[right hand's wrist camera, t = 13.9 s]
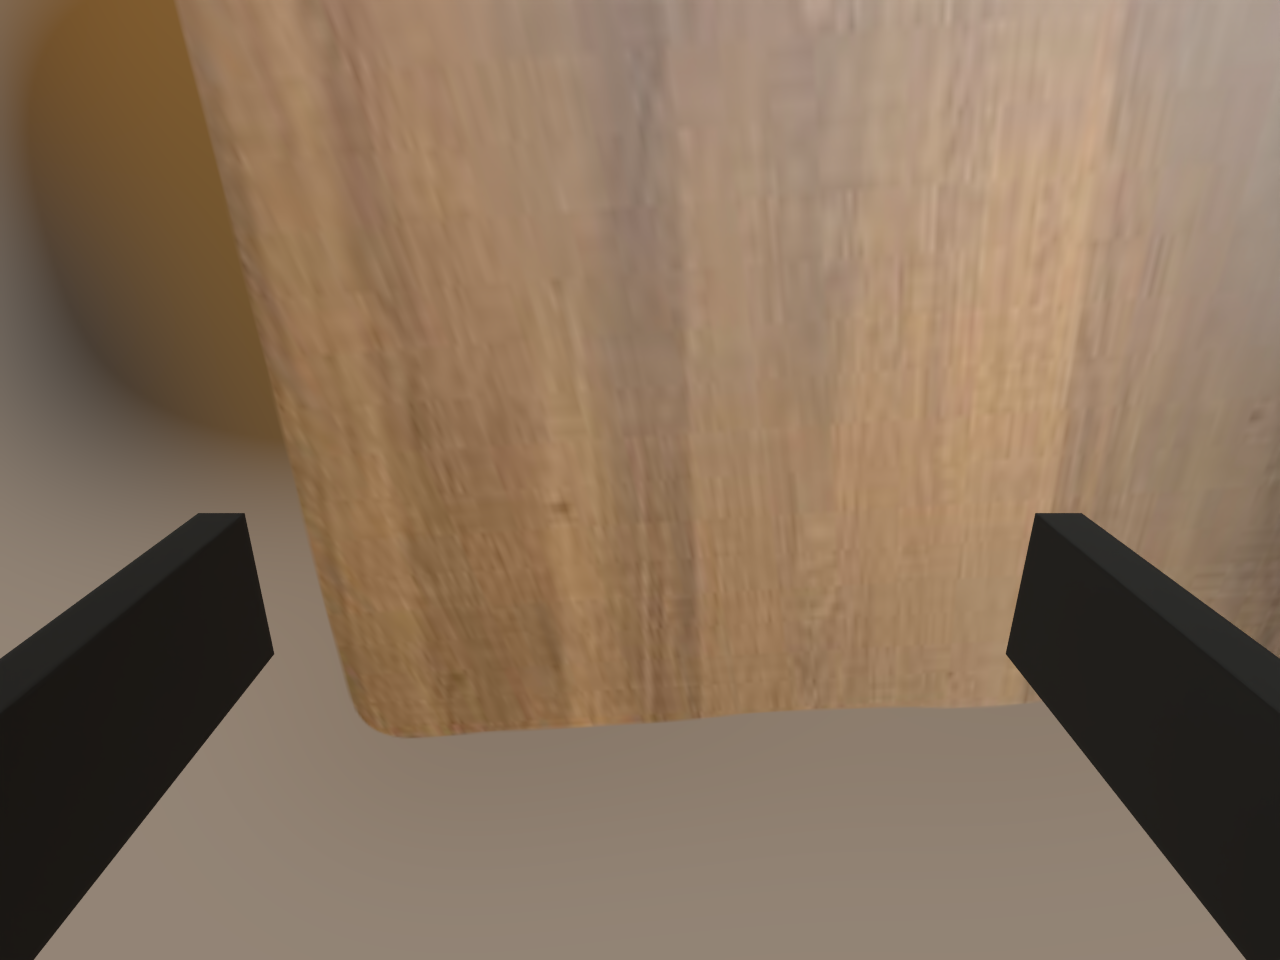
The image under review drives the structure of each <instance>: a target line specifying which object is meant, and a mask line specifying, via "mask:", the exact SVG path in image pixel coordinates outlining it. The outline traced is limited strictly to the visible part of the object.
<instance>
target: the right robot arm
mask: <svg viewBox="0 0 1280 960" xmlns="http://www.w3.org/2000/svg"><path fill="white" fill-rule="evenodd" d="M273 655H274V651H273V646H272V641H271V637H270V632H269V627H268V622H267V618H266V613H265V608H264V603H263V599H262V594H261V589H260V584H259V580H258V575H257V570H256V565H255V561H254V556H253V551H252V546H251V542H250V537H249V532H248V528H247V523H246V518H245V514H244V513H198V514H197V515H195V516H194V517H193V518H191V519H190V520H189V521H187V522H186V523H184V524H183V525H182V526H180V527H179V528H178V529H176V530H175V531H174V532H172V533H171V534H169V535H168V536H167V537H165V538H164V539H163V540H161V541H160V542H159V543H157V544H156V545H155V546H153V547H152V548H151V549H149V550H148V551H146V552H145V553H144V554H142V555H141V556H140V557H138V558H137V559H135V560H134V561H133V562H131V563H130V564H129V565H127V566H126V567H125V568H123V569H122V570H120V571H119V572H118V573H116V574H115V575H114V576H112V577H111V578H110V579H108V580H107V581H105V582H104V583H103V584H101V585H100V586H99V587H97V588H96V589H95V590H93V591H92V592H91V593H89V594H88V595H86V596H85V597H84V598H82V599H81V600H80V601H78V602H77V603H76V604H74V605H73V606H71V607H70V608H69V609H67V610H66V611H65V612H63V613H62V614H61V615H59V616H58V617H56V618H55V619H54V620H52V621H51V622H50V623H48V624H47V625H46V626H44V627H43V628H41V629H40V630H39V631H37V632H36V633H35V634H33V635H32V636H31V637H29V638H28V639H27V640H25V641H24V642H22V643H21V644H20V645H18V646H17V647H16V648H14V649H13V650H12V651H10V652H9V653H7V654H6V655H5V656H3V657H2V658H1V659H0V960H34V959H35V957H36V956H37V955H38V953H39V952H40V951H41V950H42V948H43V947H44V946H45V945H46V943H47V942H48V941H49V939H50V938H51V937H52V936H53V934H54V933H55V932H56V931H57V929H58V928H59V927H60V926H61V924H62V923H63V922H64V920H65V919H66V918H67V917H68V915H69V914H70V913H71V911H72V910H73V909H74V908H75V907H76V905H77V904H78V903H79V901H80V900H81V899H82V898H83V896H84V895H85V894H86V893H87V891H88V890H89V889H90V887H91V886H92V885H93V884H94V882H95V881H96V880H97V879H98V877H99V876H100V875H101V873H102V872H103V871H104V870H105V868H106V867H107V866H108V865H109V863H110V862H111V861H112V859H113V858H114V857H115V856H116V854H117V853H118V852H119V851H120V849H121V848H122V847H123V845H124V844H125V843H126V842H127V840H128V839H129V838H130V837H131V835H132V834H133V833H134V831H135V830H136V829H137V828H138V826H139V825H140V824H141V823H142V821H143V820H144V819H145V818H146V816H147V815H148V814H149V812H150V811H151V810H152V809H153V807H154V806H155V805H156V804H157V802H158V801H159V800H160V798H161V797H162V796H163V795H164V793H165V792H166V791H167V790H168V788H169V787H170V786H171V784H172V783H173V782H174V781H175V779H176V778H177V777H178V776H179V774H180V773H181V772H182V770H183V769H184V768H185V767H186V765H187V764H188V763H189V762H190V760H191V759H192V758H193V756H194V755H195V754H196V753H197V751H198V750H199V749H200V748H201V746H202V745H203V744H204V743H205V741H206V740H207V739H208V737H209V736H210V735H211V734H212V732H213V731H214V730H215V728H216V727H217V726H218V725H219V723H220V722H221V721H222V720H223V718H224V717H225V716H226V715H227V713H228V712H229V711H230V709H231V708H232V707H233V706H234V704H235V703H236V702H237V701H238V699H239V698H240V697H241V695H242V694H243V693H244V692H245V690H246V689H247V688H248V687H249V685H250V684H251V683H252V681H253V680H254V679H255V678H256V676H257V675H258V674H259V673H260V671H261V670H262V669H263V667H264V666H265V665H266V664H267V662H268V661H269V660H270V659H271V657H272V656H273ZM1006 655H1007V656H1008V657H1009V659H1010V660H1011V661H1012V662H1013V664H1014V665H1015V666H1016V668H1017V669H1018V670H1019V671H1020V673H1021V674H1022V675H1023V676H1024V678H1025V679H1026V680H1027V682H1028V683H1029V684H1030V685H1031V687H1032V688H1033V689H1034V690H1035V692H1036V693H1037V694H1038V695H1039V697H1040V698H1041V699H1042V701H1043V702H1044V703H1045V704H1046V706H1047V707H1048V708H1049V709H1050V711H1051V712H1052V713H1053V715H1054V716H1055V717H1056V718H1057V720H1058V721H1059V722H1060V723H1061V725H1062V726H1063V727H1064V729H1065V730H1066V731H1067V732H1068V734H1069V735H1070V736H1071V737H1072V739H1073V740H1074V741H1075V742H1076V744H1077V745H1078V746H1079V748H1080V749H1081V750H1082V751H1083V753H1084V754H1085V755H1086V756H1087V758H1088V759H1089V760H1090V762H1091V763H1092V764H1093V765H1094V767H1095V768H1096V769H1097V770H1098V772H1099V773H1100V774H1101V776H1102V777H1103V778H1104V779H1105V781H1106V782H1107V783H1108V784H1109V786H1110V787H1111V788H1112V790H1113V791H1114V792H1115V793H1116V795H1117V796H1118V797H1119V798H1120V800H1121V801H1122V802H1123V804H1124V805H1125V806H1126V807H1127V809H1128V810H1129V811H1130V812H1131V814H1132V815H1133V816H1134V818H1135V819H1136V820H1137V821H1138V823H1139V824H1140V825H1141V826H1142V828H1143V829H1144V830H1145V831H1146V833H1147V834H1148V835H1149V837H1150V838H1151V839H1152V840H1153V842H1154V843H1155V844H1156V845H1157V847H1158V848H1159V849H1160V851H1161V852H1162V853H1163V854H1164V856H1165V857H1166V858H1167V859H1168V861H1169V862H1170V863H1171V865H1172V866H1173V867H1174V868H1175V870H1176V871H1177V872H1178V873H1179V875H1180V876H1181V877H1182V879H1183V880H1184V881H1185V882H1186V884H1187V885H1188V886H1189V887H1190V889H1191V890H1192V891H1193V893H1194V894H1195V895H1196V896H1197V898H1198V899H1199V900H1200V901H1201V903H1202V904H1203V905H1204V906H1205V908H1206V909H1207V910H1208V912H1209V913H1210V914H1211V915H1212V917H1213V918H1214V919H1215V920H1216V922H1217V923H1218V924H1219V926H1220V927H1221V928H1222V929H1223V931H1224V932H1225V933H1226V934H1227V936H1228V937H1229V938H1230V940H1231V941H1232V942H1233V943H1234V945H1235V946H1236V947H1237V948H1238V950H1239V951H1240V952H1241V954H1242V955H1243V956H1244V957H1245V959H1246V960H1280V659H1279V658H1278V657H1277V656H1275V655H1274V654H1273V653H1271V652H1270V651H1268V650H1267V649H1266V648H1264V647H1263V646H1262V645H1260V644H1259V643H1258V642H1256V641H1255V640H1253V639H1252V638H1251V637H1249V636H1248V635H1247V634H1245V633H1244V632H1243V631H1241V630H1240V629H1239V628H1237V627H1236V626H1234V625H1233V624H1232V623H1230V622H1229V621H1228V620H1226V619H1225V618H1224V617H1222V616H1221V615H1219V614H1218V613H1217V612H1215V611H1214V610H1213V609H1211V608H1210V607H1209V606H1207V605H1206V604H1204V603H1203V602H1202V601H1200V600H1199V599H1198V598H1196V597H1195V596H1194V595H1192V594H1191V593H1189V592H1188V591H1187V590H1185V589H1184V588H1183V587H1181V586H1180V585H1179V584H1177V583H1176V582H1175V581H1173V580H1172V579H1170V578H1169V577H1168V576H1166V575H1165V574H1164V573H1162V572H1161V571H1160V570H1158V569H1157V568H1155V567H1154V566H1153V565H1151V564H1150V563H1149V562H1147V561H1146V560H1145V559H1143V558H1142V557H1140V556H1139V555H1138V554H1136V553H1135V552H1134V551H1132V550H1131V549H1130V548H1128V547H1127V546H1125V545H1124V544H1123V543H1121V542H1120V541H1119V540H1117V539H1116V538H1115V537H1113V536H1112V535H1111V534H1109V533H1108V532H1106V531H1105V530H1104V529H1102V528H1101V527H1100V526H1098V525H1097V524H1096V523H1094V522H1093V521H1091V520H1090V519H1089V518H1087V517H1086V516H1085V515H1083V514H1082V513H1035V518H1034V523H1033V527H1032V532H1031V537H1030V542H1029V546H1028V551H1027V556H1026V561H1025V565H1024V570H1023V575H1022V580H1021V584H1020V589H1019V594H1018V599H1017V603H1016V608H1015V613H1014V618H1013V622H1012V627H1011V632H1010V636H1009V641H1008V646H1007V651H1006Z"/></svg>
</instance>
